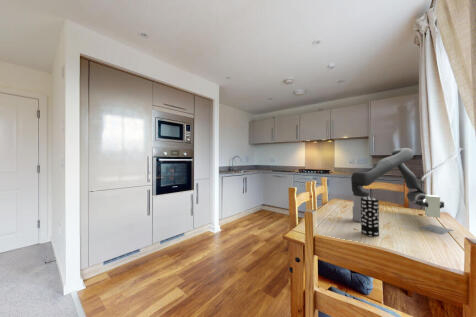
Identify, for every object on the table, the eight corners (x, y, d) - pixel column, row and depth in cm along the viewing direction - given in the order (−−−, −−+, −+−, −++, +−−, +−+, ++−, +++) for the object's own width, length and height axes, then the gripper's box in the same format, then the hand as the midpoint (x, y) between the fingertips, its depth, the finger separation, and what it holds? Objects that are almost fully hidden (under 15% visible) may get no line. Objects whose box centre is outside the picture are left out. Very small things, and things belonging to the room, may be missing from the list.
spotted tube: (379, 237, 103) (379, 200, 103) (361, 234, 108) (360, 199, 108) (378, 232, 111) (377, 198, 110) (361, 230, 115) (360, 196, 115)
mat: (441, 235, 106) (441, 234, 106) (418, 228, 115) (418, 228, 115) (454, 230, 111) (454, 230, 111) (431, 225, 120) (431, 224, 120)
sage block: (439, 217, 110) (440, 196, 110) (428, 216, 113) (428, 196, 113) (436, 215, 114) (436, 195, 114) (425, 214, 117) (425, 194, 117)
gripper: (409, 193, 129) (417, 198, 115) (439, 195, 122) (451, 200, 107) (409, 204, 129) (417, 210, 115) (439, 207, 122) (451, 214, 108)
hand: (434, 206), depth 111 cm, fingers closed on sage block, 5 cm apart
